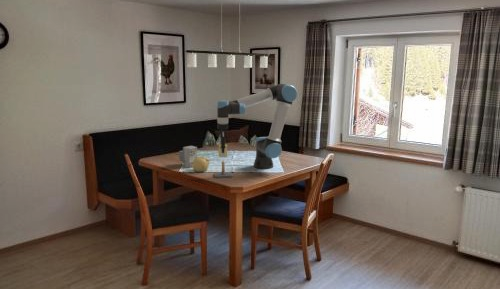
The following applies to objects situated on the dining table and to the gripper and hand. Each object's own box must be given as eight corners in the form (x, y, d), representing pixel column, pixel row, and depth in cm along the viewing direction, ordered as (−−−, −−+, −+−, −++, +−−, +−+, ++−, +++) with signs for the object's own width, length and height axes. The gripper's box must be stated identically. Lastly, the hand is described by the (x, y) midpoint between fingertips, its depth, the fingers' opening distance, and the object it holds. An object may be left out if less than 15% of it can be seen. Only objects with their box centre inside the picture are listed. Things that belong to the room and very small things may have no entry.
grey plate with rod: (231, 173, 277) (231, 160, 275) (232, 177, 267) (232, 163, 265) (214, 173, 276) (214, 160, 273) (214, 177, 266) (214, 163, 264)
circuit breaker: (185, 163, 305) (184, 144, 302) (197, 166, 296) (197, 147, 293) (178, 164, 299) (177, 146, 296) (190, 168, 290) (189, 148, 287)
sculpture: (211, 169, 286) (211, 155, 284) (203, 173, 276) (203, 159, 273) (198, 168, 291) (197, 154, 289) (189, 172, 280) (189, 157, 278)
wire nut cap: (226, 155, 272) (227, 143, 270) (227, 157, 266) (227, 145, 264) (218, 155, 271) (218, 143, 269) (218, 157, 265) (218, 145, 263)
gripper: (216, 121, 272) (216, 153, 277) (217, 125, 254) (217, 159, 259) (227, 121, 273) (227, 153, 278) (229, 125, 255) (228, 159, 260)
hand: (222, 156), depth 268 cm, fingers closed on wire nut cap, 6 cm apart
